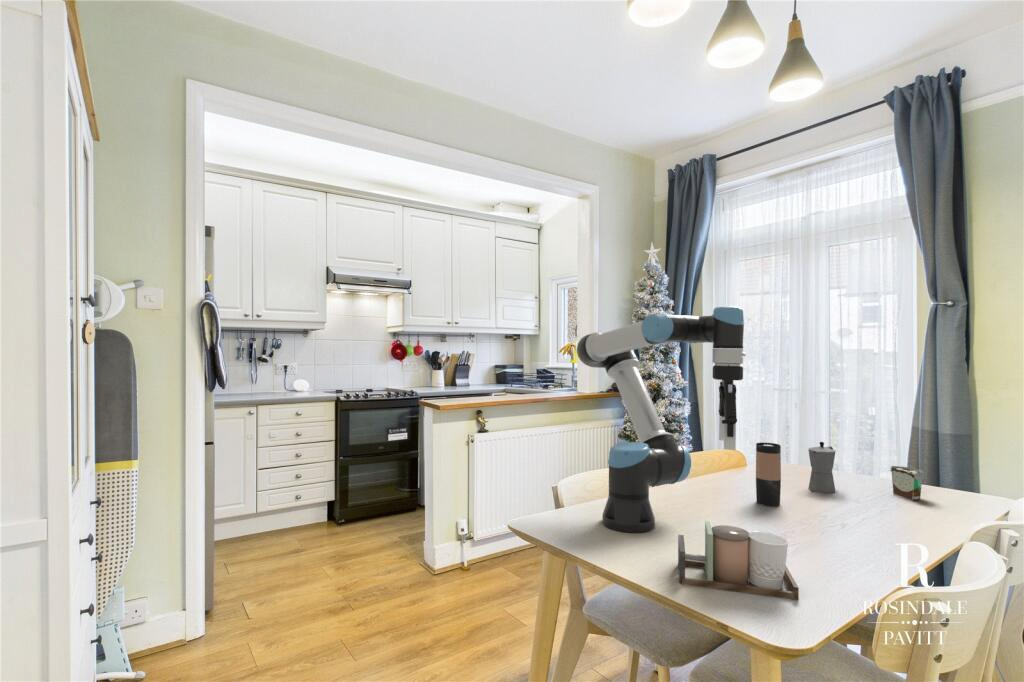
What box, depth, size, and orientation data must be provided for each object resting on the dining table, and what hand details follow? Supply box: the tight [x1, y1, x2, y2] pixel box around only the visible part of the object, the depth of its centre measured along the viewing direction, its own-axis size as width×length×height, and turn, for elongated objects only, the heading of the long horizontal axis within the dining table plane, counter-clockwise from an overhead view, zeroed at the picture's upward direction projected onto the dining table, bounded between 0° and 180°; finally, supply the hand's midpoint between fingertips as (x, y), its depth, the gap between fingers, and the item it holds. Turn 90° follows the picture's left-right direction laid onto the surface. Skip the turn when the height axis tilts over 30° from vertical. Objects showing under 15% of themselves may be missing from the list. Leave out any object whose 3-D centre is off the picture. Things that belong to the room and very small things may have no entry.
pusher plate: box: [685, 521, 714, 581], centre depth 118 cm, size 7×9×11 cm
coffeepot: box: [808, 441, 837, 494], centre depth 194 cm, size 15×9×18 cm, turn 125°
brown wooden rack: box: [677, 534, 800, 601], centre depth 115 cm, size 23×12×7 cm, turn 73°
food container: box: [889, 465, 925, 502], centre depth 184 cm, size 12×6×10 cm, turn 179°
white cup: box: [748, 531, 789, 590], centre depth 113 cm, size 8×8×10 cm
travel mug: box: [755, 442, 782, 507], centre depth 175 cm, size 8×8×20 cm
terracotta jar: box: [711, 525, 750, 586], centre depth 115 cm, size 8×8×11 cm
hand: (726, 444), depth 137 cm, fingers open, 13 cm apart
